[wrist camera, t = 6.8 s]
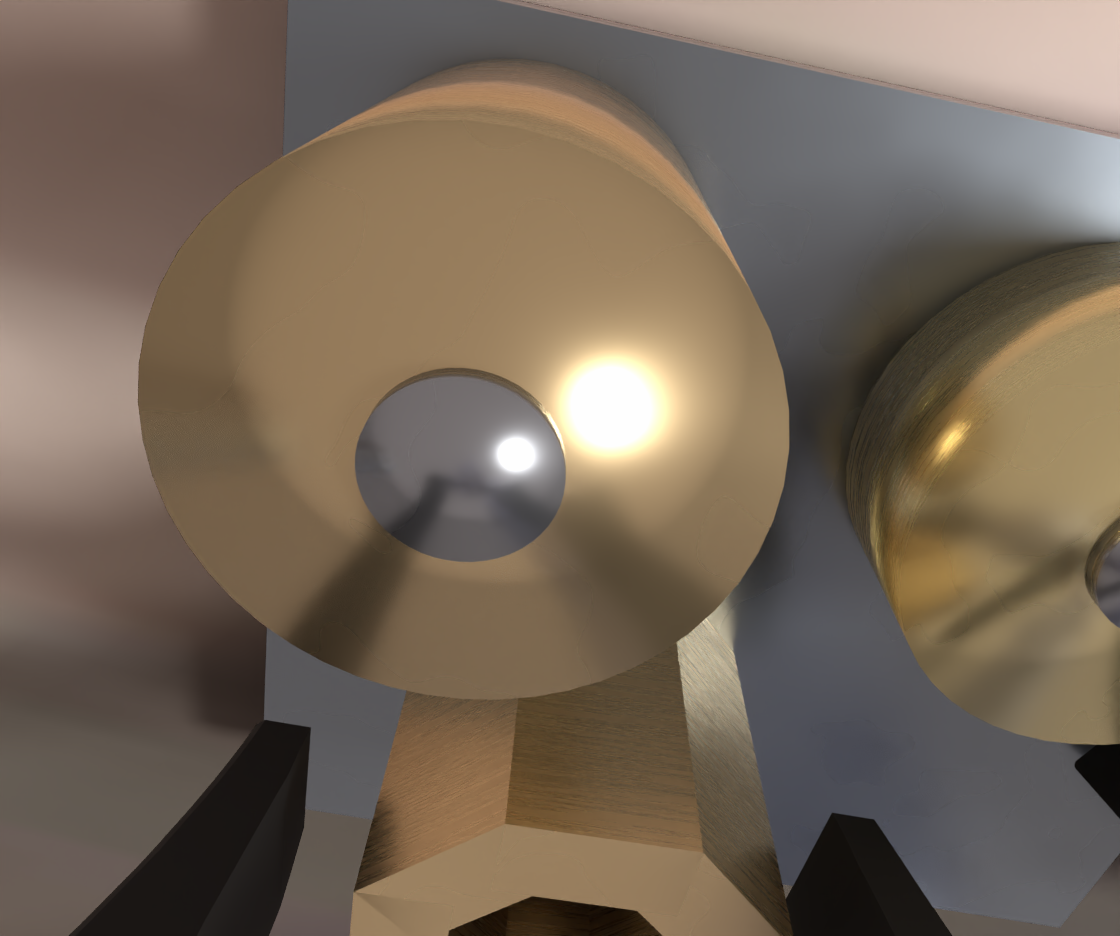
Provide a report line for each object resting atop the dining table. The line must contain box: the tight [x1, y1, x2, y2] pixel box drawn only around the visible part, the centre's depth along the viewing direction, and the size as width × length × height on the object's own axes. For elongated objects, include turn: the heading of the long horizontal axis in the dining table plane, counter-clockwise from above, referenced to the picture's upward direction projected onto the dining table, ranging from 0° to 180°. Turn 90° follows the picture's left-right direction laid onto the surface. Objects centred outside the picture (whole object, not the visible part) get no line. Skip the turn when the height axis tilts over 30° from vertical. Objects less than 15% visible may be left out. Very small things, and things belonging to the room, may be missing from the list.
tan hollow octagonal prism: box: [350, 618, 793, 936], centre depth 12 cm, size 5×5×5 cm
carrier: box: [138, 0, 1120, 928], centre depth 12 cm, size 14×16×7 cm
